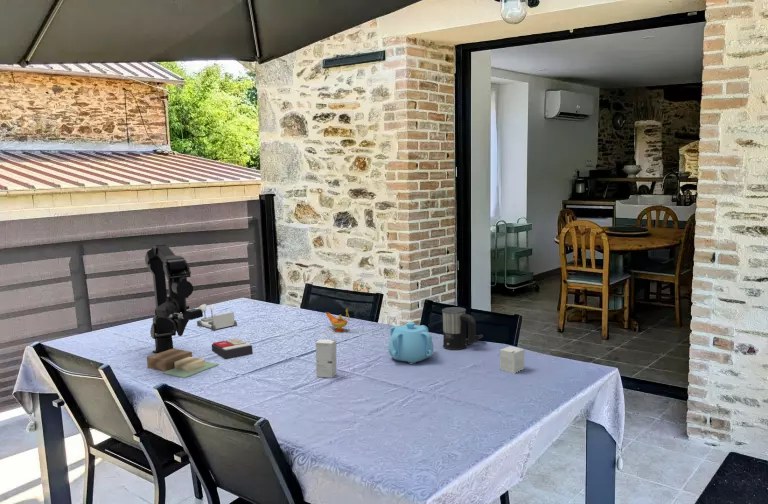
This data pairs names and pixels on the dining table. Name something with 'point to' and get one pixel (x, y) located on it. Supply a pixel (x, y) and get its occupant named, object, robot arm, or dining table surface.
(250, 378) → the dining table surface
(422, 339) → the decorative pot
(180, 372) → the mat
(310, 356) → the dining table surface
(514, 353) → the skincare box
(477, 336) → the milk frother
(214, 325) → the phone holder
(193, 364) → the birch tile
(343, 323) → the magic lamp
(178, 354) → the brown wooden block
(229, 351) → the calculator
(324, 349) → the white miniature cabinet
